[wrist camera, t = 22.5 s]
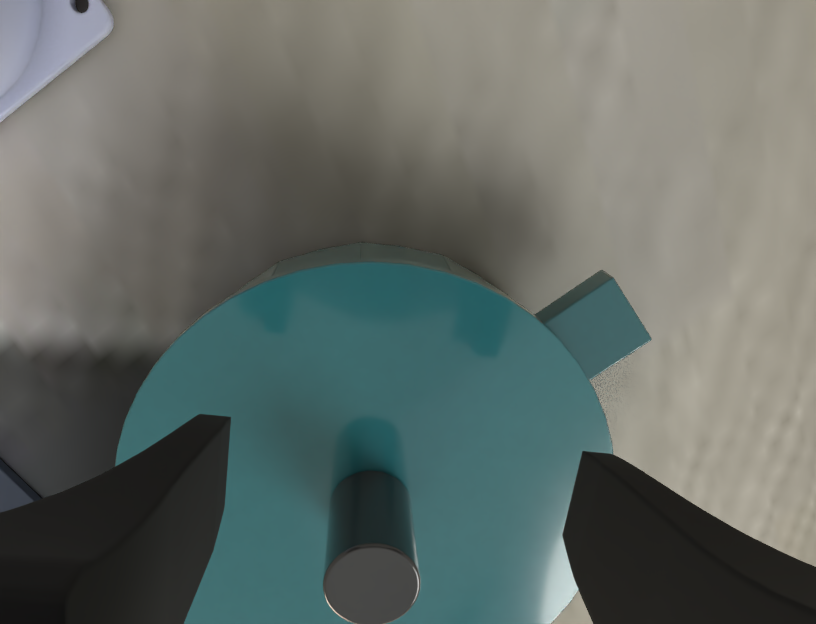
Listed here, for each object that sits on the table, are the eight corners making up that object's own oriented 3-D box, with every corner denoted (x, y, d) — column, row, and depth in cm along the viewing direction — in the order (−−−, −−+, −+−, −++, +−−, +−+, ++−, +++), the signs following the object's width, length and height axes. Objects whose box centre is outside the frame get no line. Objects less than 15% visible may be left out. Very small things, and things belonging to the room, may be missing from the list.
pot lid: (221, 167, 18) (175, 188, 13) (688, 364, 20) (778, 437, 16) (66, 599, 21) (-11, 728, 17) (480, 720, 24) (506, 859, 20)
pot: (34, 437, 24) (-35, 507, 19) (485, 109, 21) (515, 111, 17) (279, 678, 27) (264, 779, 23) (684, 422, 25) (747, 483, 21)
